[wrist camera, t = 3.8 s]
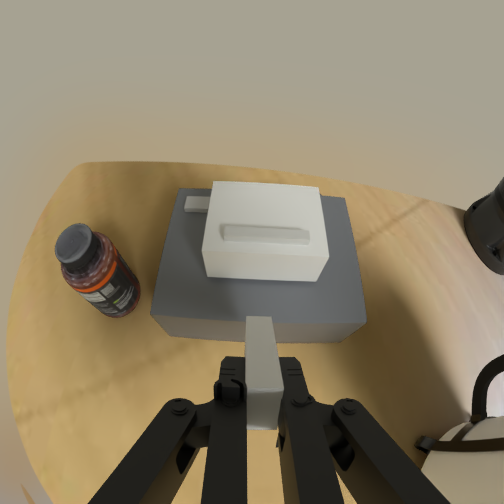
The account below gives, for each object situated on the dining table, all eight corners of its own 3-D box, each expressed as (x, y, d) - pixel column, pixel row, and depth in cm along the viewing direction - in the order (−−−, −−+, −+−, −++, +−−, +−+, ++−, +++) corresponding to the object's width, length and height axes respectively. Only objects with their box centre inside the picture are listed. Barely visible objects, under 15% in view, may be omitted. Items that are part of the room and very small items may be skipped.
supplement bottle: (110, 267, 31) (69, 208, 21) (149, 280, 30) (114, 219, 20) (90, 309, 27) (36, 260, 18) (129, 327, 27) (79, 281, 17)
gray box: (326, 220, 36) (342, 179, 29) (340, 342, 27) (370, 320, 21) (191, 213, 35) (182, 170, 29) (169, 336, 27) (147, 311, 20)
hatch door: (309, 216, 26) (320, 181, 22) (316, 281, 22) (332, 251, 18) (216, 211, 26) (213, 174, 22) (207, 276, 22) (200, 245, 18)
